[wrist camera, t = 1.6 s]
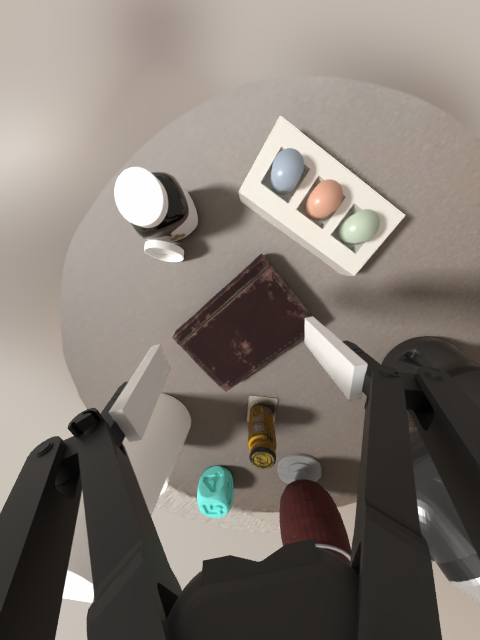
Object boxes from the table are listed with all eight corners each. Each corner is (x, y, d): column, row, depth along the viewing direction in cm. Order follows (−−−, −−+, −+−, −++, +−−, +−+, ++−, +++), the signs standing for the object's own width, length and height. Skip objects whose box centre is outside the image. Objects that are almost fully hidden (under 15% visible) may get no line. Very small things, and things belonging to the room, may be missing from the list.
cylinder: (125, 391, 48) (-40, 549, 21) (187, 393, 46) (95, 566, 20) (137, 440, 53) (16, 618, 26) (194, 443, 51) (127, 636, 24)
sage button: (371, 225, 29) (386, 220, 26) (352, 249, 30) (364, 247, 27) (351, 209, 29) (363, 202, 25) (332, 234, 30) (341, 230, 27)
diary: (179, 328, 42) (169, 336, 37) (261, 254, 36) (261, 252, 31) (231, 382, 45) (228, 396, 40) (315, 322, 39) (323, 329, 34)
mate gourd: (307, 444, 48) (342, 561, 29) (333, 475, 50) (381, 602, 31) (260, 465, 52) (263, 582, 32) (287, 493, 54) (304, 617, 35)
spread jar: (189, 186, 33) (155, 144, 22) (215, 246, 35) (196, 237, 24) (136, 215, 35) (81, 192, 24) (164, 270, 38) (126, 272, 26)
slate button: (304, 173, 28) (310, 160, 24) (286, 200, 29) (290, 192, 26) (281, 155, 27) (284, 140, 24) (264, 184, 29) (266, 173, 25)
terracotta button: (338, 200, 28) (349, 191, 25) (320, 225, 30) (328, 220, 26) (317, 183, 28) (325, 172, 25) (299, 210, 29) (304, 203, 26)
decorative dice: (202, 466, 54) (194, 500, 46) (227, 463, 53) (223, 497, 45) (210, 485, 56) (203, 519, 48) (235, 482, 55) (231, 517, 47)
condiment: (246, 421, 47) (244, 470, 36) (248, 395, 45) (246, 438, 33) (274, 424, 47) (280, 475, 35) (277, 397, 44) (285, 443, 33)
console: (385, 222, 32) (405, 215, 28) (342, 274, 35) (354, 276, 31) (276, 137, 30) (280, 115, 25) (240, 201, 33) (238, 191, 28)
